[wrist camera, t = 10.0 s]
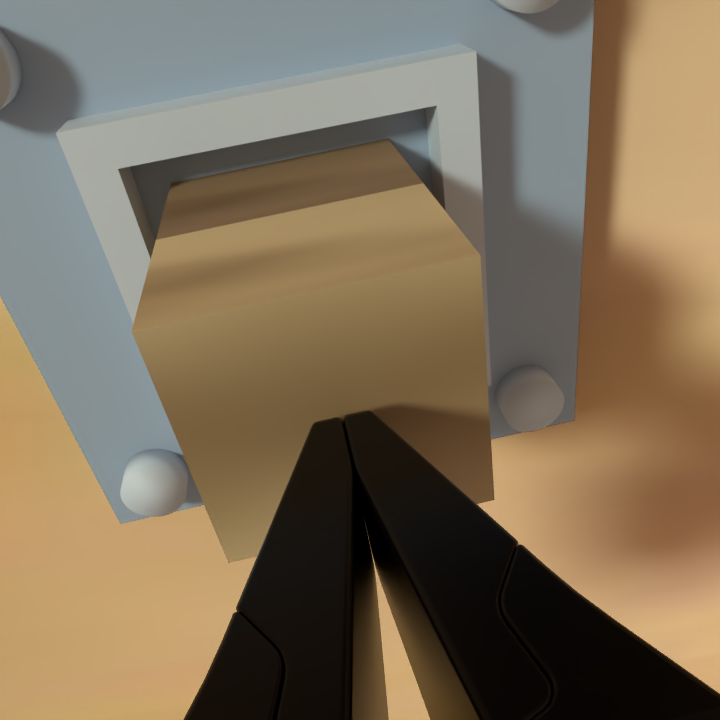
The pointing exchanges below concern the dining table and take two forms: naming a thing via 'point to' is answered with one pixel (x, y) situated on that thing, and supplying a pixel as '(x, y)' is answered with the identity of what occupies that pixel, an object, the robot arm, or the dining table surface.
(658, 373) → the dining table surface
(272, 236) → the block
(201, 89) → the board
